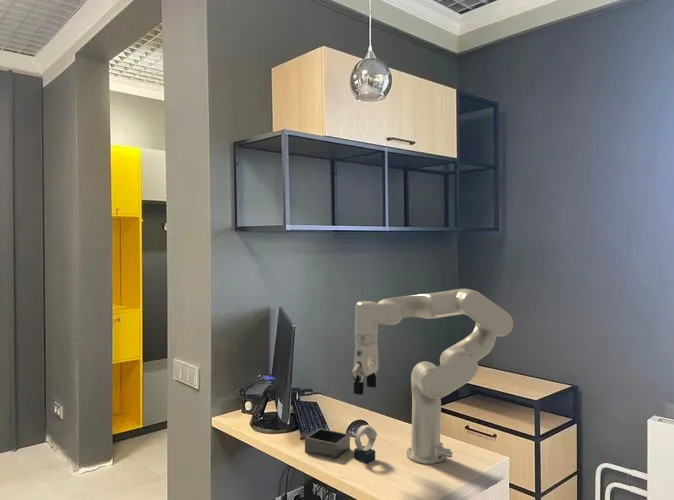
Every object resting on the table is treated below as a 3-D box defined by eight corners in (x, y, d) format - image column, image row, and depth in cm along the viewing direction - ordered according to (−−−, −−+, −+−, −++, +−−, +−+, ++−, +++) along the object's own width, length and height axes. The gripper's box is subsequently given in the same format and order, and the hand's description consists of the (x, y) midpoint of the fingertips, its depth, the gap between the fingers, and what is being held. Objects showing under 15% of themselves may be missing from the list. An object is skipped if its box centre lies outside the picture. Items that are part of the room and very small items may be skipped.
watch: (379, 458, 171) (379, 425, 171) (362, 465, 165) (363, 431, 165) (366, 453, 175) (367, 421, 175) (350, 459, 169) (350, 426, 169)
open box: (349, 448, 178) (350, 434, 178) (336, 459, 169) (336, 444, 169) (319, 442, 184) (319, 428, 184) (304, 452, 175) (305, 437, 175)
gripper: (365, 344, 161) (363, 399, 161) (386, 336, 176) (385, 385, 176) (343, 341, 164) (342, 395, 165) (367, 333, 180) (366, 382, 180)
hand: (365, 390), depth 170 cm, fingers open, 9 cm apart
